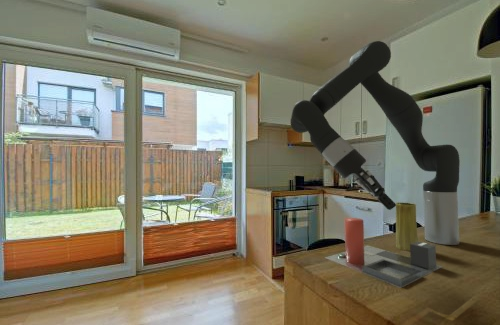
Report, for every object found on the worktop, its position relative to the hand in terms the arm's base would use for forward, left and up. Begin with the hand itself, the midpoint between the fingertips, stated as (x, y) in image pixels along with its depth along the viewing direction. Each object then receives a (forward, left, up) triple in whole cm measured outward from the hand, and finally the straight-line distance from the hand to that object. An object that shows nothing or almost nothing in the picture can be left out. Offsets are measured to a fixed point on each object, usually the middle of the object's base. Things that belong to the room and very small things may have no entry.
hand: (392, 207), depth 59 cm
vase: (-18, -6, -16) cm, 25 cm away
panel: (0, -4, -15) cm, 16 cm away
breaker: (-7, +3, -15) cm, 17 cm away
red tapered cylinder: (+5, -8, -15) cm, 17 cm away
